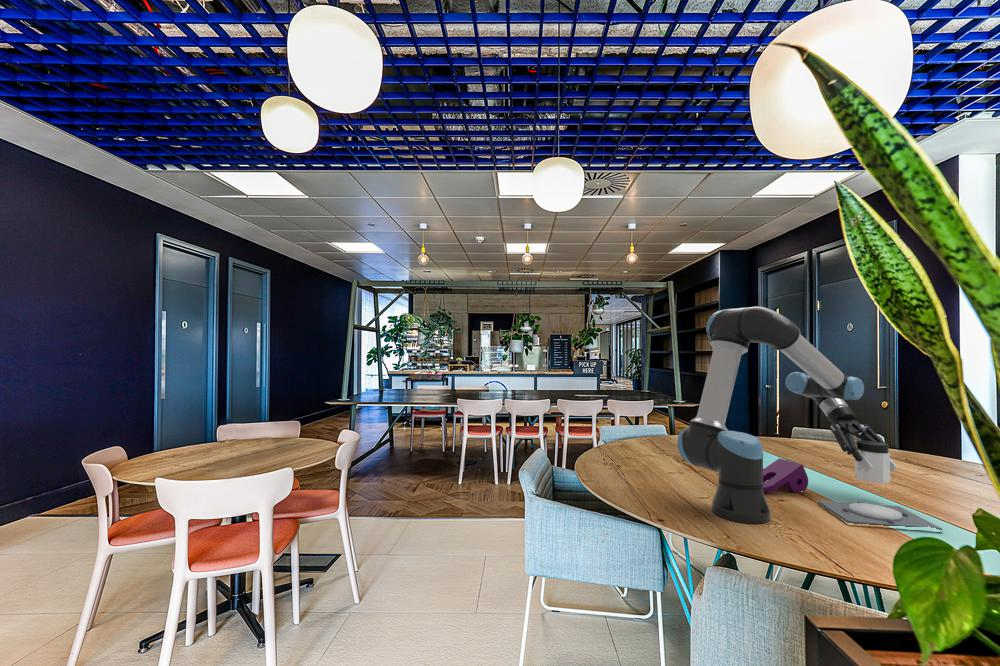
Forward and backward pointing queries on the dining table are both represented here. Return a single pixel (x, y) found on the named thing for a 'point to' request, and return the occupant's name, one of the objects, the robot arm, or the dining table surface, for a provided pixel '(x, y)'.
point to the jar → (874, 462)
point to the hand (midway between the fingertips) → (881, 469)
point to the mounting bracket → (784, 476)
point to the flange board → (875, 514)
